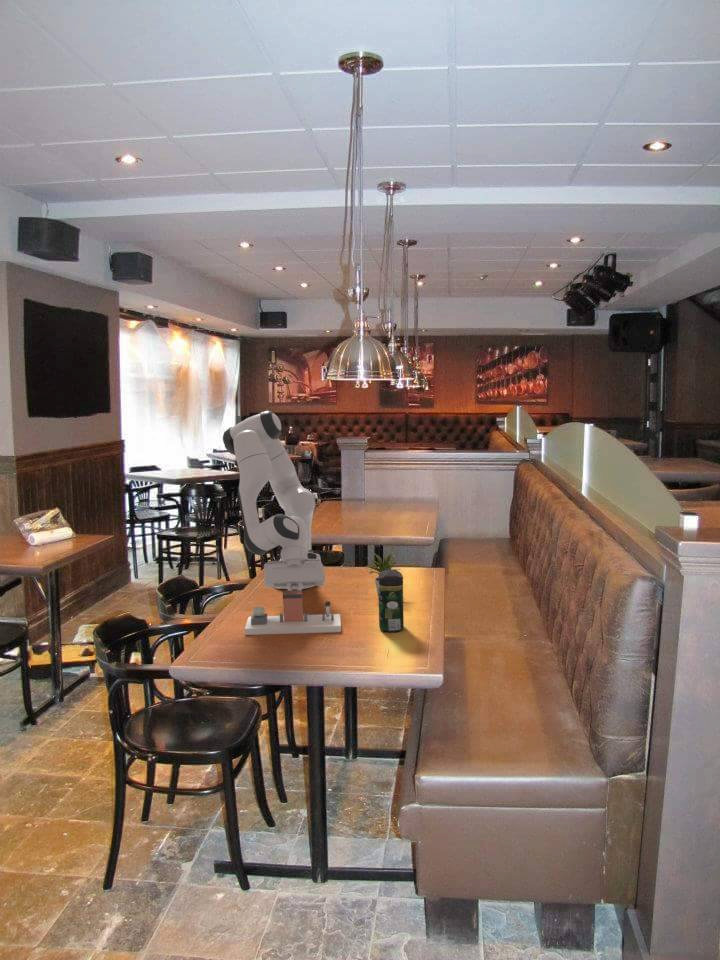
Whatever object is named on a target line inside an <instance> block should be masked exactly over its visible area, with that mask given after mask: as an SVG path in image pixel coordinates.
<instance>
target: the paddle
mask: <svg viewBox="0 0 720 960" xmlns="http://www.w3.org/2000/svg"><path fill="white" fill-rule="evenodd" d="M303 604H304V603H303V589H302V590H298V589H292V591H288V590H282V606H283V607H282V609H283V616H284V622H285V621H303V615H304V609H303V608H304V607H303Z"/></svg>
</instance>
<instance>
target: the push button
mask: <svg viewBox="0 0 720 960" xmlns="http://www.w3.org/2000/svg"><path fill="white" fill-rule="evenodd" d="M265 610H266V609H265V607H264V606H255V607H253V608H252V614H253V615H254V616H263V615H265V614H266V612H265Z"/></svg>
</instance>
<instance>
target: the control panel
mask: <svg viewBox="0 0 720 960" xmlns="http://www.w3.org/2000/svg"><path fill="white" fill-rule="evenodd" d="M244 627H245V628H244V635H245V636H252V635H253V636H257V635H259V636H260V635H283V634H284V635H285V634H286V635H287V634H290V635H292V634H315V633H316V634H317V633H318V634H319V633H322V634H323V633H341V632H342V621H341V614H340V613H330V617H326V613H325V614H323V613H322V614H308V612H303V621H285V622H284V613H279V615H268V613H265V615H263V616H254V615H253V613H252V614H251V616H248V618H247V620H246V624H245V626H244Z"/></svg>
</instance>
